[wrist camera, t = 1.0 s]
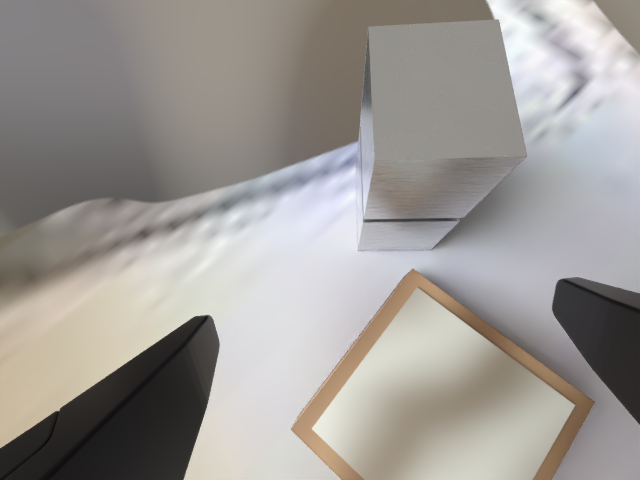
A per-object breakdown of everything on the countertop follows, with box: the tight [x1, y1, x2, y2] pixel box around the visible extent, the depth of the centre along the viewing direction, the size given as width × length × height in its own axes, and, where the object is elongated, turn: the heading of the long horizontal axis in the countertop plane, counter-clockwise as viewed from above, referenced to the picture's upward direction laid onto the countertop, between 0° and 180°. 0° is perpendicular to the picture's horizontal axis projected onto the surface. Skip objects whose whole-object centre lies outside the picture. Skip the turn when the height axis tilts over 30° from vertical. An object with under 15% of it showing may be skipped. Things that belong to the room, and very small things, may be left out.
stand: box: [291, 269, 594, 480], centre depth 18 cm, size 11×11×3 cm
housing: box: [356, 20, 527, 251], centre depth 17 cm, size 6×5×12 cm
